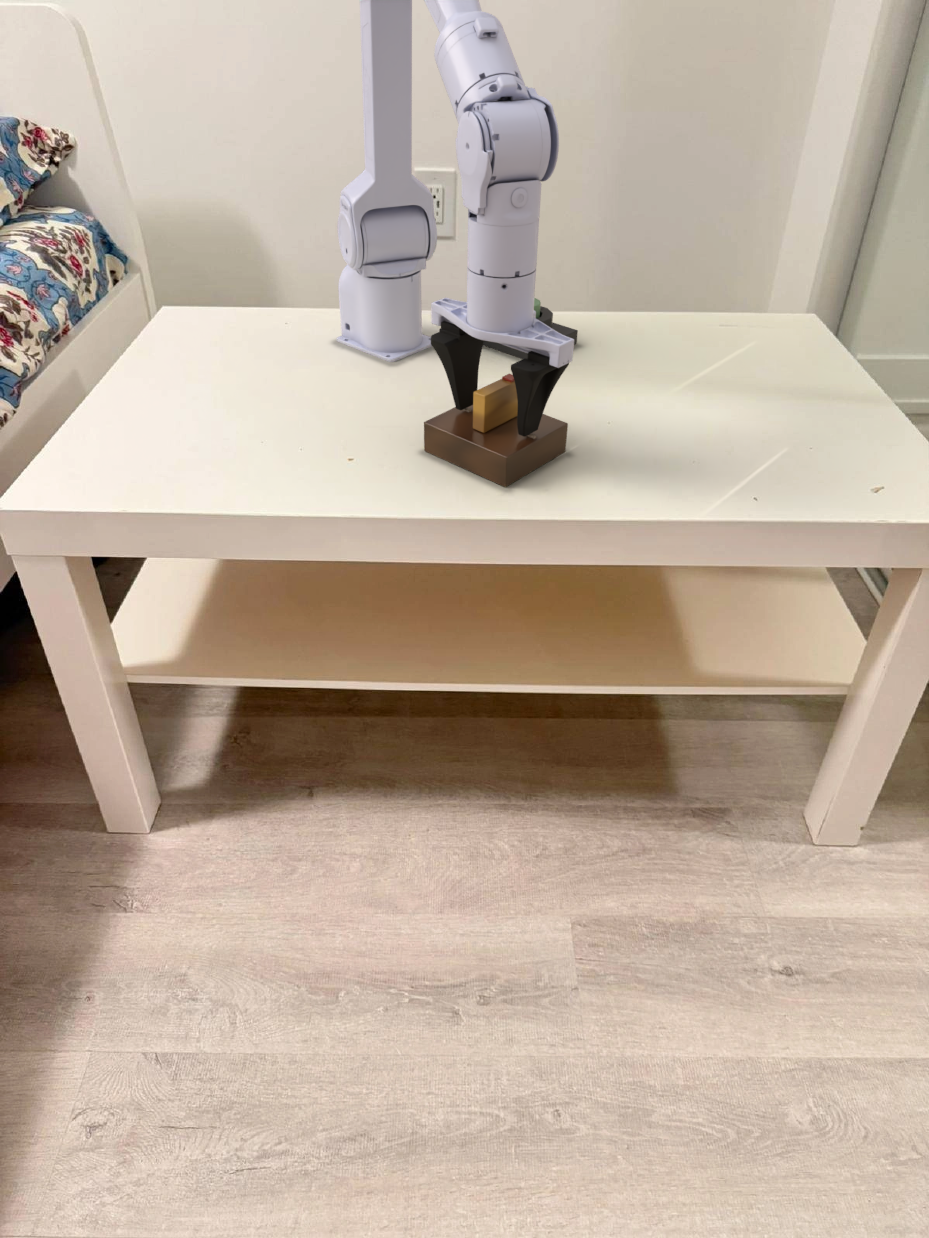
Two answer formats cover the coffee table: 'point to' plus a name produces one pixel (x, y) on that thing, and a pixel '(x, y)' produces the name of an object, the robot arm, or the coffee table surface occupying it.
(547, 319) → the push button base
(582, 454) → the coffee table surface
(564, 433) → the plate
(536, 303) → the button
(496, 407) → the block
